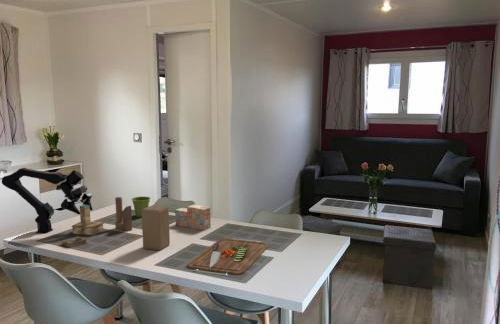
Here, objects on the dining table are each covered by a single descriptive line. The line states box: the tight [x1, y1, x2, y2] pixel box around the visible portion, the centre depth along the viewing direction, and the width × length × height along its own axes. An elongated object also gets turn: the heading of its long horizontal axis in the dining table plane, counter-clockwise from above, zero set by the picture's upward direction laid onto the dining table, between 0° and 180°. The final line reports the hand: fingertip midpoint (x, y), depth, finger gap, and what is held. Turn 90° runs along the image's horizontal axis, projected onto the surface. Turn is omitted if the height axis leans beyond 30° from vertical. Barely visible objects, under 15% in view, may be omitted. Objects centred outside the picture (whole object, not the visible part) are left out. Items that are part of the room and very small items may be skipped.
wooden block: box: [141, 204, 171, 251], centre depth 206 cm, size 10×10×20 cm
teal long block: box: [79, 204, 92, 226], centre depth 230 cm, size 4×4×11 cm
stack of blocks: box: [174, 204, 212, 231], centre depth 242 cm, size 21×6×12 cm, turn 59°
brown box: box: [71, 221, 104, 236], centre depth 232 cm, size 14×10×4 cm
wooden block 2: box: [114, 196, 133, 232], centre depth 237 cm, size 4×11×18 cm, turn 54°
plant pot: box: [131, 196, 151, 218], centre depth 266 cm, size 12×12×11 cm
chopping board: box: [186, 237, 270, 277], centre depth 195 cm, size 45×27×3 cm, turn 161°
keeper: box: [61, 236, 87, 249], centre depth 213 cm, size 8×9×2 cm
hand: (86, 212), depth 229 cm, fingers open, 9 cm apart
